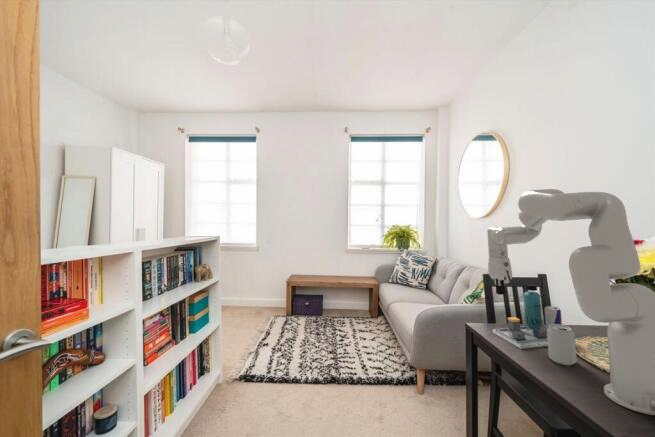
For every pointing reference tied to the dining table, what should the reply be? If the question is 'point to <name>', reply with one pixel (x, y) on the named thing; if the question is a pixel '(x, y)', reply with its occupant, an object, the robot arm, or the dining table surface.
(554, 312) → the energy drink
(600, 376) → the dining table surface
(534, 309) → the beverage bottle
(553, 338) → the can
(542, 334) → the panel
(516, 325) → the handle
